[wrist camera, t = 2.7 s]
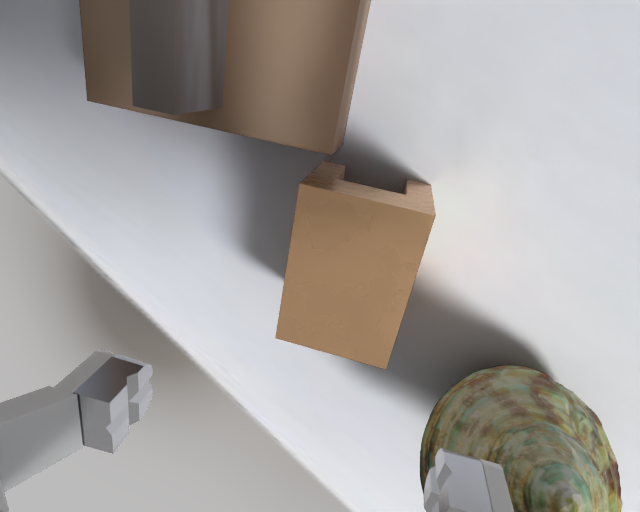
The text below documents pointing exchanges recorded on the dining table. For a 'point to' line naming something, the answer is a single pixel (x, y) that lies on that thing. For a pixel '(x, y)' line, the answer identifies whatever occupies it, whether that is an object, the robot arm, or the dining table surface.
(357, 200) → the slotted cardboard block
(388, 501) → the dining table surface
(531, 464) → the seashell
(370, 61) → the dining table surface
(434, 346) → the dining table surface
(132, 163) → the dining table surface
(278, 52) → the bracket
